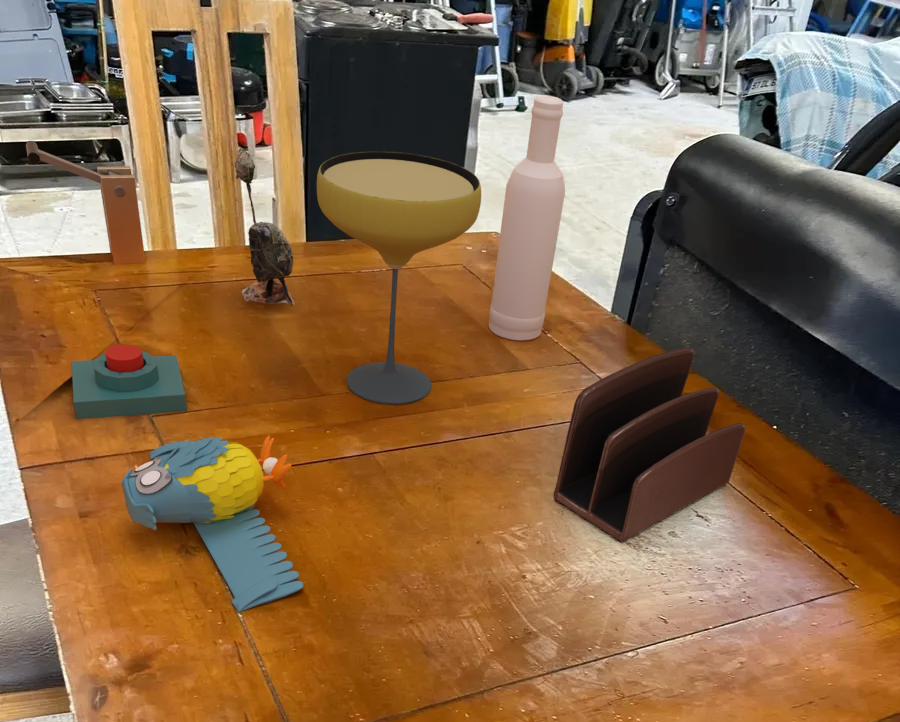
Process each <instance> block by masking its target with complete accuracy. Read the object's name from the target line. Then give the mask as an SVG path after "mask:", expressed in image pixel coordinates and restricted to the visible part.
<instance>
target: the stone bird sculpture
mask: <svg viewBox="0 0 900 722" xmlns="http://www.w3.org/2000/svg"><path fill="white" fill-rule="evenodd" d="M234 168H235V173H236V176H235V177H234V178H235V179H236V180H238V179H240V180H241V181H242V182H243V183H245V184H246V189H247V194H248V199H249V202H250V207H251V213H252V222H253V224H252V225H251V226H250V227H249V228H248V232H247V234H248V247H249V250H250V264H251V266H252V272H253V275H254V276H255V279H256V280H255V281H254V282H252V283H250V284H249V285H247V286H246V287H242V288H240V291H241V295H242V296H243V298H244V299H243V301H245V302H258V303H262V304H269V305H274V304H282V303H286V304H290V305H291V306H294V305H295V304H296V303H295V298H294V297H292V296H291V295H292V292H291V293H290V292H289V289H288V287H289V286H288V285H287V283H286V280H285V277H289V276H290V275H291V274H292V273H293V267H294V255H293V253H294V252H293V249H292V245H291V243H290V241H289V240H288V239H287V237H286V236H285V234H284V232H283V231H282V230H281V229H280V228H279V226H277V225H276V224H275V223H273V222H265V221H264V222H263V221H259V222H257V220H256V215H255V213H256V212H255V208H254V203H253V200H252V199H253V198H252V194H251V193H252V186H251V184H252V181H253V179H254V175H255V169H256V165H255V163H254V160H253V158H252V156H251V154H250V153H249V152H247V151H246V150H241V151H240V152H239V154H238V156H237V159H236V161H235V162H234ZM276 279H277V280H278V281H277V280H276ZM249 305H250V306H251V304H249ZM261 308H263V309H264V307H263V306H260V309H261Z"/></svg>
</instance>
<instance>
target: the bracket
mask: <svg viewBox="0 0 900 722" xmlns="http://www.w3.org/2000/svg"><path fill="white" fill-rule="evenodd" d="M96 169H97V173H99V174H102V175H101V176H100V179H101V184H100V183H99V188H100V195H101V201H102V207H103V214H104V220H105V227H106V234H107V239H108V240H107V241H108V246H109V247H108V248H109V252H110V254H111V255H112V256H111V257H112V262H113V265H114V266H116V265H136V264H137V265H138V264H146V256H145V248H144V240H143V233H142V224H141V223H142V222H141V217H140V209H139V202H138V194H137V186H136V185H137V184H136V178H135V175H134V174H132V168H131V166H129V165H127V166H125V165H123V166H121V165H119V166H117V165H116V166H113V165H112V166H96ZM109 171H111V172H113V173H116V174H118V175H108V172H109Z"/></svg>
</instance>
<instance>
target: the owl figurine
mask: <svg viewBox="0 0 900 722" xmlns="http://www.w3.org/2000/svg"><path fill="white" fill-rule="evenodd" d="M274 440H275V437H272V438H271V435H270V434H269V435H268V436H265V438H264V441H263V443H262V444H261V449H260V453H259V458H257V457H256V455H255V454H254V453H253V451H252V450H251V449H250V448H248V447H246V446H244V445H243V444H240V443H238V442H235V441H228V440H225V439H224V440H223V437H222V436H217V437H215V436H214V435H213V436H208V437H205V438H202V439H197V440H193V441H190V439H186V440H184V441H173V442H168V443H165V444H163V445H161V446H158V447H156V448H155V449H153V450H151V451H150V452H148V453H149V457H150V461H148V462H145V463H143V464H141V465H140V466H138V467H136V468H135V469H134V470H133V469H132V468H129V469H128V471H127V472H126V474H125V475H124V477H123V478H122V480H121V482H120V483H121V488H122V492H123V497H124V500H125V501H124V502H125V507H126V510H127V513H128V515H129V517H130V519H131V521H132V522H133V523H137V524H139V525H142V526H145V527H147V528H149V529H152V530H153V531H156V530H158V526H157V525H156V524H157V523H162V524H163V523H164V524H165V523H168V524H171V523H172V524H191V523H193V525H194V527H195V529H196V530H197V533H198V534H199V536H200V537H201V540H202V541H203V543H204V545H205V547H206V548H207V550H208V552H209V554H210V555H211V557H212V558H213V560H214V562H215V564H216V566H217V568H218V570H219V571H220V573H221V575H222V577H223V579H224V580H225V582H226V584H227V586H228V588H229V589H230V592H231V593H232V595H233V597H234V598H233V599H232V600H231V603H232V605H233V607H234V608H235V609H236V611H237V612H238V613H241V612H245V611H246V610H249V609H251V608H254V607H256V606H259V605H264V604H269V603H271V602H273V601H275V600H278V599H281V598H284V597H287V596H290V595H292V594H294V593H296V592H299V591H301V590H302V589H303V588H304V583H303V581H301V580H297V579H298V578H300V574H299V572H298V571H297V570H292V569H293V567H294V563H293V562H292V561H291V560H285V559H286V558H288V554H287V552H286V551H283V550H281V549H282V544H281V543H280V542H275V541H276V538H277V537H276V535H275V534H273V533H270V531H271V527H270V526H269V525H267V524H265V523H266V519H265V518H263V517H261V516H260V514H261V512H260V510H259V509H256V508H255V507H256V503H257V501H258V498H259V497H260V496H261V495H262V494H263V489H264V487H265V482H267V481H271V480H273V482H274V483H275V484H276V485H277V486H279V487H282V488H286V485H285V482H284V481H283V479H284V478H285V477H286V474H287V473H288V472H289V470H291V467H292V463H289V462H288V463H287V464H285V463H286V460H287V459H288V454H283V455H282V456H280V458H278V459H277V458H276V457H271V454H272V447H273V445H274V442H275V441H274ZM261 465H262V466H261ZM264 473H265V474H266V475H264ZM259 516H260V517H259Z"/></svg>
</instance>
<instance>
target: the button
mask: <svg viewBox="0 0 900 722" xmlns="http://www.w3.org/2000/svg"><path fill="white" fill-rule="evenodd" d="M142 352H143V350H142V349H141V348H140V347H138V346H136V345H133V344H117V345H113V346H110V347H109V348H107V349H106V350H105V352H104V354H105V356H106V361H107V367H108V369H109V370H110V371H114V372H119V373H125V372H134V371H137V370H140V369H142V368H143V367H144V362H143V355H142Z"/></svg>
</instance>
